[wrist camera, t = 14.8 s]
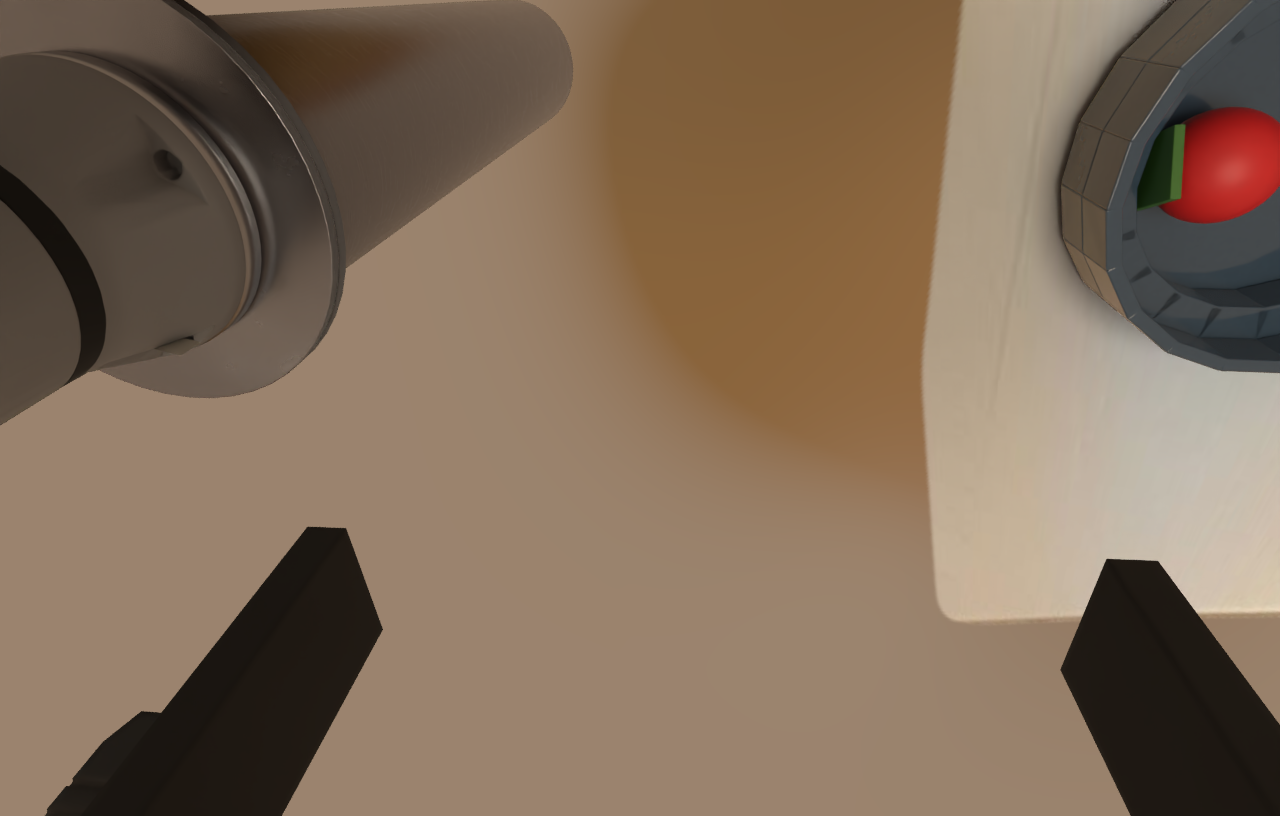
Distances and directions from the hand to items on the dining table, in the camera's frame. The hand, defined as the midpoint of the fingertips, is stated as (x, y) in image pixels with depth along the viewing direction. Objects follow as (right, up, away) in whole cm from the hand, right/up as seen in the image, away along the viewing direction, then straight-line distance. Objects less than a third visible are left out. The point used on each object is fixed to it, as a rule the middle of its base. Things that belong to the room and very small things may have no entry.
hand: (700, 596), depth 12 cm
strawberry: (+24, +13, +15) cm, 31 cm away
